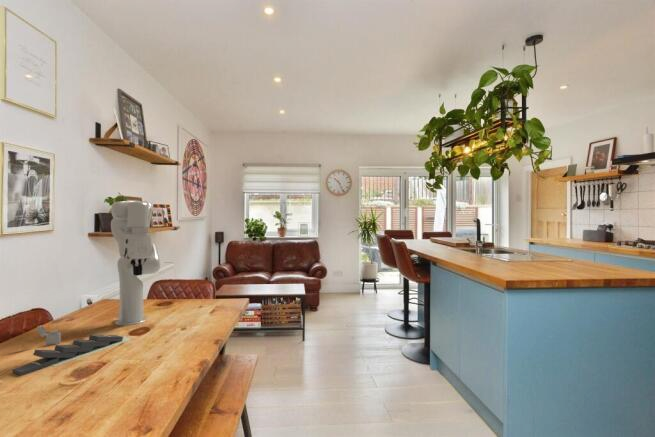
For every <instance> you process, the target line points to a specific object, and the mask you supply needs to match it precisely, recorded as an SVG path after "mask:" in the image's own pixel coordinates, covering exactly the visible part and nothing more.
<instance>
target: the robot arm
mask: <svg viewBox="0 0 655 437" xmlns="http://www.w3.org/2000/svg"><path fill="white" fill-rule="evenodd" d="M110 211H111V212H110V213H111V215H112V219H111V222H110V231H111V234H112V236H113V238H114V240H115V242H116V243H117V246H118V253H119V259H118V260H117V273H118V278H119V280H118V281H119V313H116V314H115V315H116V317H118V320H116V321H115V325H116V326H119V327H128V326H134V325H135V326H136V325H139V324H143V323H144V322H147V320H148V318H147V317H146V316H144V283H143V281H142V280H141V279H140V278H139V277H138V276H142V275H152V274H156V273H158V271H160V268H161V261H160V256H159V254H158V250H157V246H156V244H155V243H154V242H153V241H152V238H151V234H149V229H150V227H151V221H152V217H153V206H152V204H151V203H150V202H149V201H146V200H145V201H143V200H123V201H114V202H113V203H112V204H111V210H110Z"/></svg>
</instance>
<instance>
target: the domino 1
mask: <svg viewBox="0 0 655 437" xmlns="http://www.w3.org/2000/svg"><path fill="white" fill-rule="evenodd" d="M56 363H59V358H41V357H40V358H39V359H36V360H34V361H31V362H28V363H26V364H23V365H20V366H17V367H14V368H12V374H14V375H15V374H16V376H17V375H18V376H20V377H22V376H25V375H29V374H31V373H34V372H37V371H40V370H43V369H46V368H49V367H52V366H51V365H54V364H56Z"/></svg>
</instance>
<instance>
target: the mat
mask: <svg viewBox="0 0 655 437" xmlns="http://www.w3.org/2000/svg"><path fill="white" fill-rule="evenodd" d="M122 337H123V340H122V341H110V342H109V345H108V346H94V348H93V351H87V352H75V356H74V358H59V363H56V364H54V365H51V366H50V367H57V366H59V365H62V364H65V363H67V362H71V361H74V360H76V359H79V358H82V357H85V356H87V355H91V354H94V353H97V352H100V351H103V350H105V349H108V348H111V347H114V346H116V345H120V344H123V343H126V342H128V341H131V340H132V338H131V337H130V338H129V337H125V336H122Z"/></svg>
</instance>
